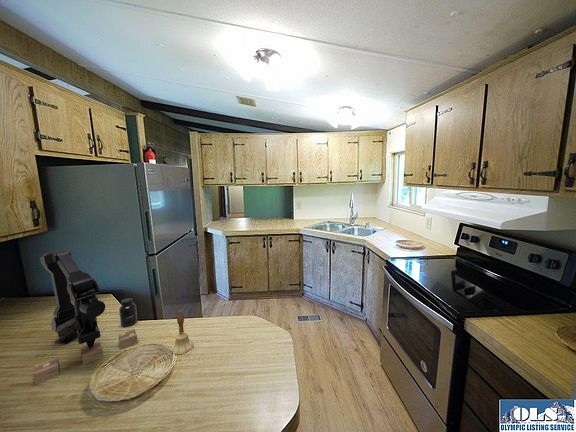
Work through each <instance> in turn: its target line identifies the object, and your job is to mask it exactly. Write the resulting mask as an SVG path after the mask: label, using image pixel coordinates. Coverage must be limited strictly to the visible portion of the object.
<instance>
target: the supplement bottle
mask: <svg viewBox="0 0 576 432" xmlns="http://www.w3.org/2000/svg"><path fill="white" fill-rule="evenodd" d="M118 310H119V320H120V322H119V323H120V326H121V327H123V328H127V327H131V326H133V325H135V324H137V322H138V314H137V313H138V311H137V305H136V303H134V299H133V298H132V297H127V298H124V299H122V300H121V301H120V307H119V308H118Z"/></svg>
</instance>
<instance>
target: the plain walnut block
mask: <svg viewBox="0 0 576 432" xmlns="http://www.w3.org/2000/svg"><path fill="white" fill-rule="evenodd" d="M79 350H80V356H81V361H82V365H83V366H84V365H87V364H89V363H92V362H94V361H96V360H98V359H101V358H103V357H104V353H103V348H102V344H101V341H95V342H94V345H93V347H92V348H89V347H88V345H86V346H84V347H81V348H80V349H79Z"/></svg>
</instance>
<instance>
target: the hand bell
mask: <svg viewBox="0 0 576 432" xmlns="http://www.w3.org/2000/svg"><path fill="white" fill-rule="evenodd" d="M176 321H177V324H178V330H179V331H178V334H177V335H176V336H175V342H174V345H173V346H172V348H171V352H172V351H173V352H174V355H183V354H186V353H188V352H190V351H191V350H192V349H193V348H194V342H193V341H192V340H190V338H189V335H188V333H187V332H185V330H184V329H185V328H184V323H185V322H184V321H185V316H184V313H183V311H182V310H181V309H180V310H178V311H177V315H176Z"/></svg>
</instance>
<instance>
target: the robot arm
mask: <svg viewBox="0 0 576 432" xmlns="http://www.w3.org/2000/svg"><path fill="white" fill-rule="evenodd" d="M39 259H40V260H39V261H40V263H41V266H43V268H44V269H45V270H46V271H47V272H48V273H50V277H51V282H52V288H53V292H54V298H55V302H56V307H55V309H54V310H53V312H52V315H53V318H52V320H51V322H50V323H51V324H50V326H51V330H52V331H54V332H55V333H56V334H57V338H58V339H56V340H55V341H54V343H55V344H64V345H66V344H69V343H70V342H72V341H74V340H76V339H77V343H78V345H83V344H85V343H86V346H88V347H89V348H92V347H93V345H94V343H96V339H99V338H101V331H100V327H99V326H98V319H97V317H99V316H101V315H102V314H103V313H104V312H105V310H106V303H105V302H104V301H102V300H100V299H99V298H98V297H97V296H98V295H101V291H100V290H101V288H100V286H99V284H98V282H97V281H96V280H95V278H93V277H92V276H91V275H90V274H89V273H88V272H84V271H82V270H81V269H80V267H79V265H78V264H77V262H76V261H75V259H74V258H73V256H72V253H71V250H67V249H65V250H64V249H62V250H57V251H51V252H47V253H43V255H42V256H41V257H39ZM72 301H73V303H72Z"/></svg>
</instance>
